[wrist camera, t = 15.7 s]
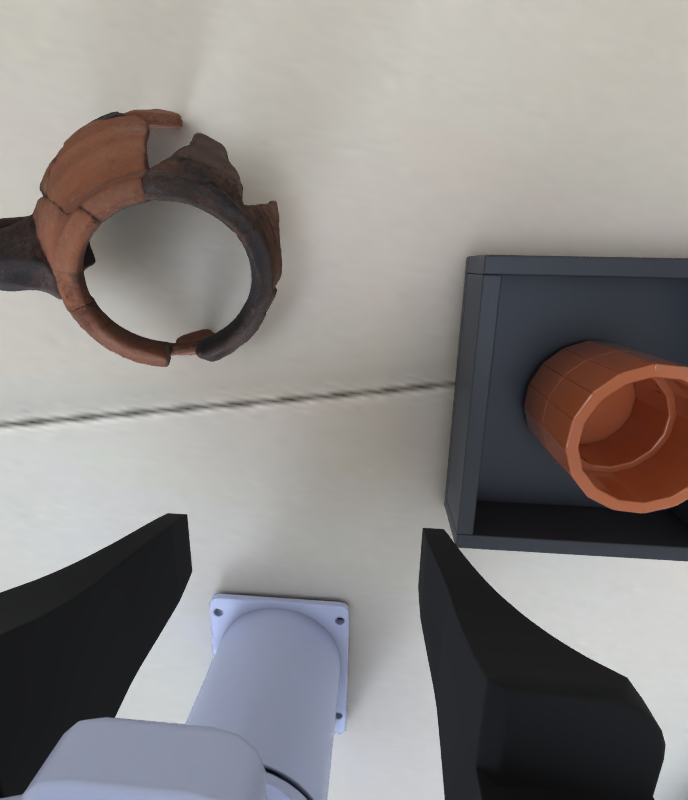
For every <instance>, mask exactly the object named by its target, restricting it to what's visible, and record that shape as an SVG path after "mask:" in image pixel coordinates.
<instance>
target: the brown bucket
mask: <svg viewBox="0 0 688 800" xmlns="http://www.w3.org/2000/svg"><path fill="white" fill-rule="evenodd" d="M529 384H530V385H528V389H527V394H526V399H525V403H524V412H525V416H526V420H527V425H528V428H529V430H530V432H531V433H532V434H533V435H534V437H535V438H536V439H537V441H538V442H539V443H540V444H541V446H542V447H543V448H544V449H545V450H546V451H547V452H548V453H549V455H550V456H551V457H552V458H553V459H554V460H555V461H556V462H557V463H558V465H559V466H560V467H561V468H562V469H563V470H564V471H565V472H566V474H567V475H568V476H569V477H570V478H571V479H572V480H573V481H574V482H575V484H576V485H577V486H578V487H579V488H580V489H581V490H582V491H583V493H584V494H585V495H586V496H588V497H589V498H591V499H593V500H594V501H596V502H598V503H600V504H602V505H604V506H606V507H608V508H610V509H612V510H617V511H626V512H635V513H648V512H653V511H657V510H662V509H666V508H671V507H674V506H677V505H679V504H680V503H682V502H684V501H685V500H687V499H688V367H686V366H683V365H680V364H677V363H674V362H671V361H668V360H665V359H662V358H659V357H656V356H653V355H650V354H647V353H644V352H641V351H638V350H635V349H632V348H629V347H626V346H623V345H620V344H616V343H612V342H601V341H586V342H582V343H579V344H575V345H572V346H568V347H565V348H563V349H562V350H560V351H559V352H557V353H556V354H555V355H553V356H552V357H551V358H549V359H548V360H546V361H545V362H544V363H543V364H542V365H541V367H540V368H539V370H538V371H537V373H536V374H535V375H534V377H533V378H532V380H531V381H530V383H529Z"/></svg>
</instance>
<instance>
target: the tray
mask: <svg viewBox="0 0 688 800" xmlns="http://www.w3.org/2000/svg"><path fill="white" fill-rule="evenodd" d="M586 341H601V342H612V343H616V344H620V345H623V346H626V347H629V348H632V349H635V350H638V351H641V352H644V353H647V354H650V355H653V356H656V357H659V358H662V359H665V360H668V361H671V362H674V363H677V364H680V365H683V366H686V367H688V258H635V257H578V256H521V255H481V256H470V257H467V260H466V271H465V282H464V293H463V305H462V316H461V327H460V338H459V349H458V360H457V371H456V382H455V393H454V404H453V415H452V426H451V437H450V448H449V459H448V470H447V481H446V492H445V503H444V505H445V509H446V512H447V516H448V520H449V523H450V527H451V531H452V534H453V538H454V542H455V545H456V546H457V547H458V548H473V549H490V550H507V551H524V552H540V553H557V554H574V555H590V556H607V557H624V558H640V559H657V560H674V561H688V499H687V500H685V501H684V502H682V503H680V504H679V505H677V506H674V507H671V508H666V509H662V510H657V511H653V512H648V513H635V512H626V511H617V510H612V509H610V508H608V507H606V506H604V505H602V504H600V503H598V502H596V501H594V500H593V499H591V498H589V497H588V496H586V495H585V494H584V493H583V491H582V490H581V489H580V488H579V487H578V486H577V485H576V484H575V482H574V481H573V480H572V479H571V478H570V477H569V476H568V475H567V474H566V472H565V471H564V470H563V469H562V468H561V467H560V466H559V465H558V463H557V462H556V461H555V460H554V459H553V458H552V457H551V456H550V455H549V453H548V452H547V451H546V450H545V449H544V448H543V447H542V446H541V444H540V443H539V442H538V441H537V439H536V438H535V437H534V435H533V434H532V433H531V432H530V430H529V428H528V425H527V420H526V416H525V412H524V403H525V399H526V394H527V389H528V385H530V384H529V383H530V381H531V380H532V378H533V377H534V375H535V374H536V373H537V371H538V370H539V368H540V367H541V365H542V364H543V363H544V362H545V361H546V360H548V359H549V358H551V357H552V356H553V355H555V354H556V353H557V352H559V351H560V350H562V349H563V348H565V347H568V346H572V345H575V344H579V343H582V342H586Z"/></svg>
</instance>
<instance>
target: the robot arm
mask: <svg viewBox="0 0 688 800" xmlns="http://www.w3.org/2000/svg"><path fill="white" fill-rule="evenodd" d="M191 573H192V563H191V552H190V541H189V530H188V519H187V514H170V513H168V514H166V515H163V516H161V517H159V518H157V519H156V520H154V521H152V522H150V523H148V524H146V525H145V526H143V527H141V528H139V529H138V530H136V531H134V532H132V533H131V534H129V535H127V536H125V537H123V538H122V539H120V540H118V541H116V542H115V543H113V544H111V545H109V546H107V547H105V548H103V549H101V550H99V551H98V552H96V553H94V554H92V555H90V556H88V557H86V558H84V559H82V560H80V561H78V562H76V563H74V564H72V565H70V566H68V567H65V568H63V569H61V570H59V571H56V572H54V573H52V574H49V575H47V576H44V577H42V578H40V579H37V580H34V581H32V582H29V583H26V584H23V585H21V586H18V587H15V588H12V589H9V590H7V591H4V592H1V593H0V800H327V797H328V787H329V777H330V766H331V756H332V746H333V736H334V734H341V733H343V732H344V731H345V730H346V718H347V679H348V641H349V607H348V605H347V604H345V603H343V602H333V601H319V600H304V599H290V598H275V597H261V596H246V595H232V594H215V595H213V597H212V598H211V600H210V617H211V630H212V642H213V655H214V658H213V660H212V662H211V665H210V667H209V670H208V672H207V674H206V677H205V679H204V681H203V684H202V686H201V688H200V691H199V693H198V696H197V698H196V700H195V703H194V705H193V707H192V710H191V712H190V714H189V717H188V719H187V721H186V724H177V723H165V722H154V721H143V720H132V719H120V718H115V716H116V714H117V712H118V710H119V708H120V706H121V703H122V701H123V699H124V697H125V695H126V693H127V691H128V689H129V687H130V685H131V683H132V681H133V679H134V677H135V675H136V674H137V672H138V670H139V668H140V666H141V665H142V663H143V661H144V660H145V658H146V656H147V655H148V653H149V652H150V650H151V648H152V647H153V645H154V643H155V642H156V640H157V638H158V637H159V635H160V633H161V632H162V630H163V628H164V627H165V625H166V623H167V622H168V620H169V618H170V617H171V615H172V613H173V612H174V610H175V608H176V606H177V605H178V603H179V601H180V599H181V597H182V594H183V592H184V590H185V588H186V585H187V583H188V580H189V578H190V576H191ZM418 589H419V605H420V618H421V624H422V629H423V634H424V640H425V645H426V650H427V656H428V661H429V666H430V671H431V677H432V682H433V687H434V693H435V699H436V706H437V715H438V726H439V736H440V747H441V759H442V770H443V782H444V794H445V800H654V798H653V794H654V791H655V787H656V784H657V781H658V777H659V774H660V770H661V767H662V764H663V760H664V753H665V741H664V737H663V734H662V730H661V729H660V727H659V725H658V724H657V722H656V720H655V719H654V717H653V715H652V714H651V712H650V710H649V709H648V707H647V706H646V704H645V702H644V701H643V699H642V698H641V696H640V695H639V693H638V692H637V691H636V689H635V688H634V686H633V685H632V684H631V682H630V681H629V679H628V678H627V677H625V676H623V675H621V674H619V673H617V672H615V671H613V670H611V669H609V668H607V667H605V666H603V665H601V664H599V663H597V662H595V661H593V660H591V659H589V658H587V657H586V656H584V655H582V654H581V653H579V652H577V651H575V650H574V649H572V648H570V647H569V646H567V645H565V644H564V643H562V642H561V641H559V640H558V639H556V638H555V637H553V636H551V635H550V634H548V633H547V632H546V631H544V630H543V629H541V628H540V627H539V626H537V625H536V624H535V623H533V622H532V621H530V620H529V619H528V618H526V617H525V616H524V615H523V614H521V613H520V612H519V611H518V610H517V609H515V608H514V607H513V606H512V605H511V604H510V603H508V602H507V601H506V600H505V599H504V598H503V597H502V596H501V595H499V594H498V593H497V592H496V591H495V590H494V589H493V588H492V587H491V586H490V585H489V584H488V583H487V582H486V581H485V579H484V578H483V577H482V576H481V575H480V574H479V573H478V572H477V570H476V569H475V568H474V567H473V566H472V565H471V563H470V562H469V561H468V560H467V559H466V557H465V556H464V555H463V554H462V552H461V551H460V550H459V549H458V547H457V546H456V545H455V543H454V542H453V541H452V539H451V538H450V537H449V535H448V534H447V533H446V531H445V530H444V529H431V528H423V532H422V545H421V558H420V571H419V584H418ZM217 609H221V610H222V611H218V610H217ZM338 617H341V618H343V620H339V619H337V618H338Z"/></svg>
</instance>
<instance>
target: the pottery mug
mask: <svg viewBox="0 0 688 800" xmlns="http://www.w3.org/2000/svg"><path fill="white" fill-rule="evenodd" d="M181 127H182V120H181V116H180V115H179V114H177V113H174V112H170V111H166V110H160V109H152V110H132V111H129V112H127V113H124V114H123V113H119V112H112V113H109V114H106V115H104V116H101V117H99V118H97V119H95V120H93V121H91V122H90V123H88V124H87V125H85V126H83V127H82V128H80V129H79V130H77V131H76V132H75V133H74V134H73V135H72V136H71V137H70V138H69V139H68V140H66V141H65V143H64V146H63V148H62V149H61V150H60V151H59V152H58V154H57V155H56V157H55V158H54V159H53V160H52V161H51V163H50V164H49V166H48V168H47V169H46V172H45V174H44V176H43V179H42V181H41V183H40V191H41V192H42V194H43V197H42V198H40V199H39V200H38V201H37V204H36V207H35V209H34V212H33V214H32V215H30V216H26V217H15V218H2V219H0V290H3V291H22V290H39V291H43V292H46V293H49V294H51V295H53V296H55V297H56V298H58V299H62V300H63V302H64V304H65V306H66V308H67V310H68V311H69V312H70V313H71V315H72V316H73V318H74V319H75V320H76V321H77V322H78V323H79V325H80V326H81V327H82V328H83V329H84V330H85V331H86V332H87V333H88V334H89V335H90V336H91V337H93V338H94V339H95V340H96V341H97V342H98V343H100V344H101V345H103V346H104V347H105V348H107V349H108V350H110V351H113V352H115V353H117V354H119V355H121V356H122V357H124V358H128V359H130V360H132V361H135V362H137V363H142V364H147V365H151V366H159V367H167V366H168V365H169V363H170V360H171V355H195V354H197V356H198V357H199V358H202V359H205V360H208V361H211V362H212V361H217V360H220V359H221V358H223V357H225V356H227V355H229V354H231V353H232V352H234V351H235V350H236V349H237V348H238V347H240V346H241V345H243V344H244V343H245V342H247V341H248V340H249V339H250V338H251V337H252V336H253V335H254V333H255V332H256V331H257V330H258V328H259V326H260V325H261V323H262V321H263V319H264V317H265V315H266V312H267V310H268V309H269V307H270V305H271V303H272V301H273V300H274V298H275V295H276V292H277V289H276V287H275V286H276V284H277V282H278V281H279V279H280V277H281V274H282V257H281V248H280V234H279V214H278V207H277V203H276V201H270V202H269V203H268V204H259V205H250V206H249V205H244V203H243V201H242V193H243V186H242V184H241V181H240V177H239V174H238V172H237V171H236V169H235V168H234V167H233V165H232V164H231V163H230V162H229V159H228V155H227V151H226V149H225V147H224V146H223V145H222V144H221V143H219V142H217V141H215V140H214V139H212V138H210V137H208V136H206V135H204V134H201V133H196V134H195V135H194V136H193V138H192V141H191V142H190V145H188V146H185V147H182V148H181V149H179V150H177V151H176V152H175V153H174V154H173V155H172V156H171V157H170V158H168V159H166V160H164V161H162V162H161V163H160V164H158V165H156V166H154V167H153V168H151V169H149V166H148V160H147V141H148V137H149V133H150V129H152V128H174V129H180V128H181ZM150 200H166V201H175V202H181V203H185V204H189V205H192V206H195V207H197V208H199V209H202V210H204V211H205V212H207V213H209V214H211V215H213V216H214V217H216V218H217V219H219V220H220V221H222V222H223V223H224V224H225V225H226V226H227V227H229V228H230V229H231V230H232V231H233V232H235V233H236V234H237V236H238V238H239V240H240V241H241V242H242V244H243V246H244V248H245V250H246V252H247V255H248V257H249V261H250V265H251V272H252V283H251V289H250V293H249V297H248V299H247V301H246V303H245V305H244V306H243V308H242V310H241V311H240V313H239V314H238V315H237V317H236V318H235V319H234V320H233V321H232V322H231V323H230V324H229V325H228V326H226V327H225V328H224V329H222V330H220V331H219V332H217V333H213V332H212V331H211V330H208V329H205V330H200V331H196V332H192V333H189V334H186V335H183V336H181V337H179V338H178V339H177V340H176V343H168V342H162V341H156V340H152V339H148V338H145V337H141V336H139V335H136V334H134V333H131V332H129V331H128V330H126V329H124V328H122V327H121V326H119V325H118V324H116V323H115V322H114V321H112V320H111V319H110V318H109V317H108V316H107V315H106V314H105V313H104V312H103V311H102V310H101V309H100V308H99V306H98V305H97V303H96V302H95V300H94V298H93V297H92V296H91V295H90V293H89V291H88V288H87V285H86V281H85V277H84V270H85V269H87V268H88V267H89V266H92V265H93V264H94V263H95V262H96V260H95V257H94V254H93V251H92V249H91V246H90V243H89V240H90V238H91V236H92V235H93V233H94V232H95V230H96V229H97V228H98V227H99V226H100V224H101V223H102V222H104V221H105V220H107V219H108V218H109V217H111V216H112V215H113V214H115V213H116V212H118V211H120V210H122V209H124V208H126V207H129V206H132V205H136V204H140V203H144V202H148V201H150Z"/></svg>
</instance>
